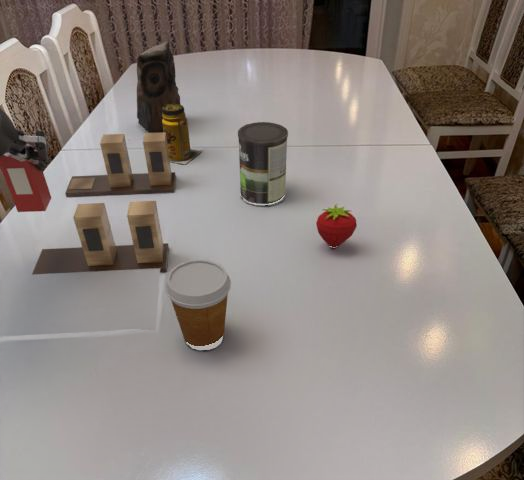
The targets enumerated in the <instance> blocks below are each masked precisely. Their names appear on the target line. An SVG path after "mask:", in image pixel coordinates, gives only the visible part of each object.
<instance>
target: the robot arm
mask: <svg viewBox="0 0 524 480" xmlns="http://www.w3.org/2000/svg"><path fill="white" fill-rule="evenodd" d="M29 150H30V154H29ZM4 155H5V156H7V157H12V158H15V159H17V160H19V161H21V162H23V161H28V162H30V163H31V164H32V165H33V166H34V167H36V168H37V169H38V170H39V171H43V172H44V171H45V169H47V163H49V145H48V141H47V137H46V133H45V131H43V130H36V131H35V134H33V135H29V134H28V135H27V134H26V133H25V132H24V131H22V130H20V129H18V128H17V127H15V124H14V122H13V121H12V119H11V118H10V116H9V115H8V114H7V113H6V112H5V111H4V110H3V109H2V107H0V156H4ZM0 169H1V167H0Z"/></svg>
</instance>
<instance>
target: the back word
mask: <svg viewBox="0 0 524 480" xmlns="http://www.w3.org/2000/svg"><path fill="white" fill-rule="evenodd" d="M125 135H126V134H125V133H111V134H102V137H101V139H100V142H99V145H100V150H101V154H102V158H103V161H104V162H103V163H104V165H105V171H106V174H98V175H97V174H95V175H72V176H71V179H70V180H69V183H68V185H67V188H66V191H65V197H66V198H74V197H75V198H76V197H97V196H98V197H99V196H100V197H101V196H121V195H124V196H125V195H144V194H145V195H146V194H147V195H149V194H172V193H175V187H176V177H177V176H176V175H177V174H176V171H172V166H171V162H170V159H169V152H168V145H167V138H166V132H162V133H149V132H144V134H143V140H142V145H143V150H144V158H145V162H146V168H147V172H146V173H145V172H144V173H133V171H132V166H131V161H130V156H129V155H130V154H129V150H128V146H127V141H126V136H125Z"/></svg>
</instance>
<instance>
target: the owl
mask: <svg viewBox="0 0 524 480" xmlns="http://www.w3.org/2000/svg"><path fill="white" fill-rule="evenodd" d="M136 77H137V78H136V79H137V81H136V118H137V120H138V121H137V123H138V124H139V125H140V126H141V127H142V128H143V129H144V130H145V131H146V132H147V133H162V132H164V131H163V126H162V120H163V113H162V108H163V107H164V106H165V105H168V104H180V105H182V104H181V96H180V94H179V87H178V86H177V82H176V77H177V76H176V66H175V58H174V56H173V53H172V50H171V48H170V41H169V40H166V41H165V42H162V43H160V44H157V45H154V46H152V47H151V48H148V49H146V50H144V51H143V52H142V53H139V54H138V55H137V57H136Z"/></svg>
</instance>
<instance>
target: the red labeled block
mask: <svg viewBox="0 0 524 480" xmlns="http://www.w3.org/2000/svg"><path fill="white" fill-rule="evenodd" d="M29 154H30V150H29ZM0 167H1V168H0V171H1V172H2V175H3V178H4V180H5V182H6V185H7V188H8V191H9V193H10V195H11V199H12V201H13V203H14V206H15V209H16V211H17V213H28V212H29V213H30V212H34V213H35V212H46V211H47V209H48V207H49V204H50V202H51V200H52V195H51V192H50V189H49V186H48V183H47V180H46V177H45V173H44V171H39V170H38V169H37V168H36V167H34V166H33V165H32V164H31V163H30V162H28V161H23V162H21V161H19V160H17V159H15V158H12V157H7V156H5V155H4V156H0Z"/></svg>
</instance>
